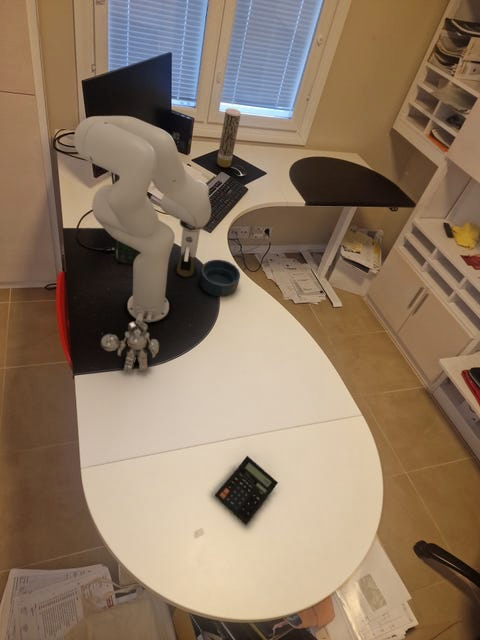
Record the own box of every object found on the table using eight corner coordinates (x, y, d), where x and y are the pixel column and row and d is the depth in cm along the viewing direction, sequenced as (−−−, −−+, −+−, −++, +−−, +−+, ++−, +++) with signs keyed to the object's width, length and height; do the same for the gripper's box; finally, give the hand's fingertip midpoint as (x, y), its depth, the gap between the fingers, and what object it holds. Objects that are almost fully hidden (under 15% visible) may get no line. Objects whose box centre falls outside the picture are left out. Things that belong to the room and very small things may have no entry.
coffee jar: (146, 252, 145) (148, 206, 132) (143, 266, 140) (145, 221, 126) (118, 248, 143) (117, 202, 130) (114, 263, 138) (112, 216, 125)
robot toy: (100, 372, 109) (97, 336, 98) (103, 353, 113) (101, 317, 102) (157, 373, 112) (160, 339, 101) (158, 355, 116) (161, 320, 105)
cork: (185, 262, 146) (188, 237, 138) (197, 271, 144) (201, 246, 136) (172, 269, 142) (175, 244, 134) (185, 278, 140) (188, 253, 132)
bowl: (236, 300, 138) (239, 288, 134) (197, 294, 136) (199, 282, 132) (237, 275, 147) (240, 263, 143) (201, 268, 145) (203, 256, 141)
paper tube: (214, 161, 200) (223, 108, 182) (227, 161, 203) (237, 108, 185) (219, 168, 196) (229, 114, 178) (232, 168, 199) (243, 115, 181)
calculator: (214, 495, 93) (216, 490, 91) (245, 459, 101) (248, 454, 99) (246, 525, 91) (249, 521, 88) (275, 486, 98) (279, 481, 96)
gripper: (201, 238, 122) (194, 283, 136) (206, 207, 134) (199, 251, 147) (176, 234, 122) (171, 279, 135) (183, 203, 133) (178, 248, 146)
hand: (186, 264), depth 141 cm, fingers closed on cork, 4 cm apart
